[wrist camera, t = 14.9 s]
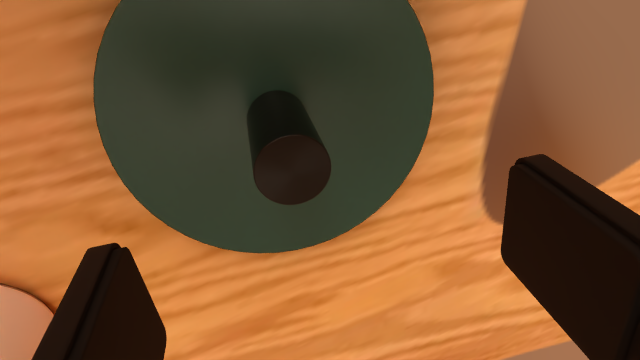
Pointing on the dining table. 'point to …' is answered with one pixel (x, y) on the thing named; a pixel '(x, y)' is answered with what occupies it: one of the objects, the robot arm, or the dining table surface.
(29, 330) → the can
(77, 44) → the dining table surface
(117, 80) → the lid
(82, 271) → the robot arm
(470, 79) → the dining table surface
